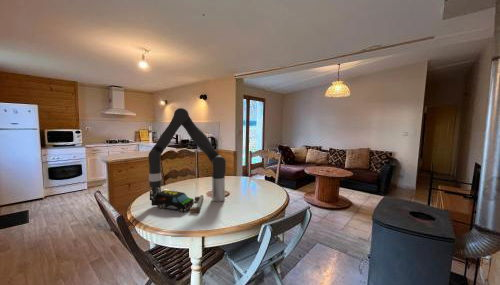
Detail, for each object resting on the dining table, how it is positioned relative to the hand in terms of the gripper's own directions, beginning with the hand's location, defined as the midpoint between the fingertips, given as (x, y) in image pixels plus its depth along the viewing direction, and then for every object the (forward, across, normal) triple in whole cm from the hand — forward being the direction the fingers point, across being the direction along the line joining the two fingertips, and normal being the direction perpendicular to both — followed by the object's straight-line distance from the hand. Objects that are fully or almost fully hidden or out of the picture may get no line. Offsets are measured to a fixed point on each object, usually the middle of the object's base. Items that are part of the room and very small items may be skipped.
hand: (155, 202), depth 137 cm
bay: (+3, 0, -27) cm, 27 cm away
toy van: (+3, -1, -12) cm, 13 cm away
